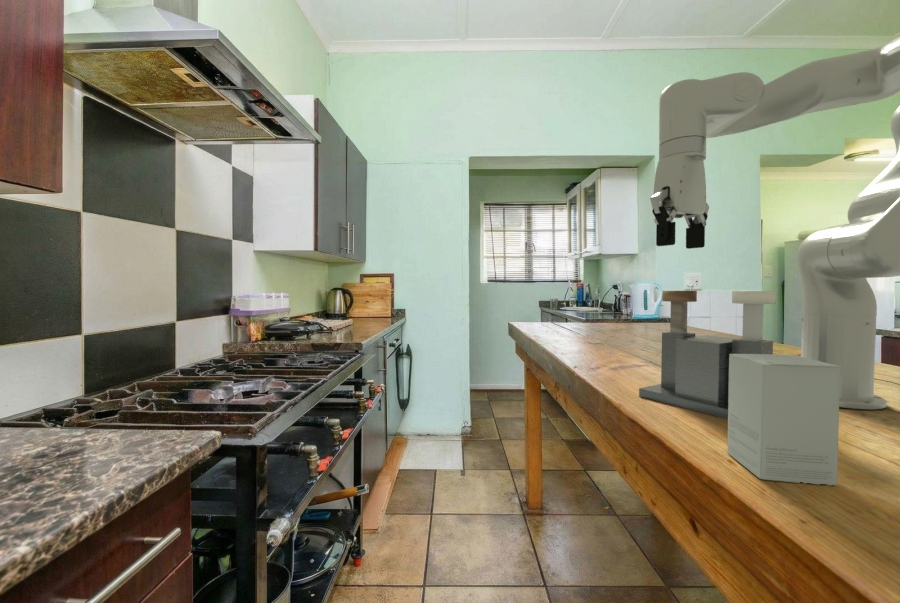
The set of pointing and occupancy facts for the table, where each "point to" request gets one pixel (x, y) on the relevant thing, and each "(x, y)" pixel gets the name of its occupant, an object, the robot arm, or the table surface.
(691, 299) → the walnut plunger
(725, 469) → the table surface
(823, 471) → the supplement box
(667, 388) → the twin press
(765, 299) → the cream plunger
